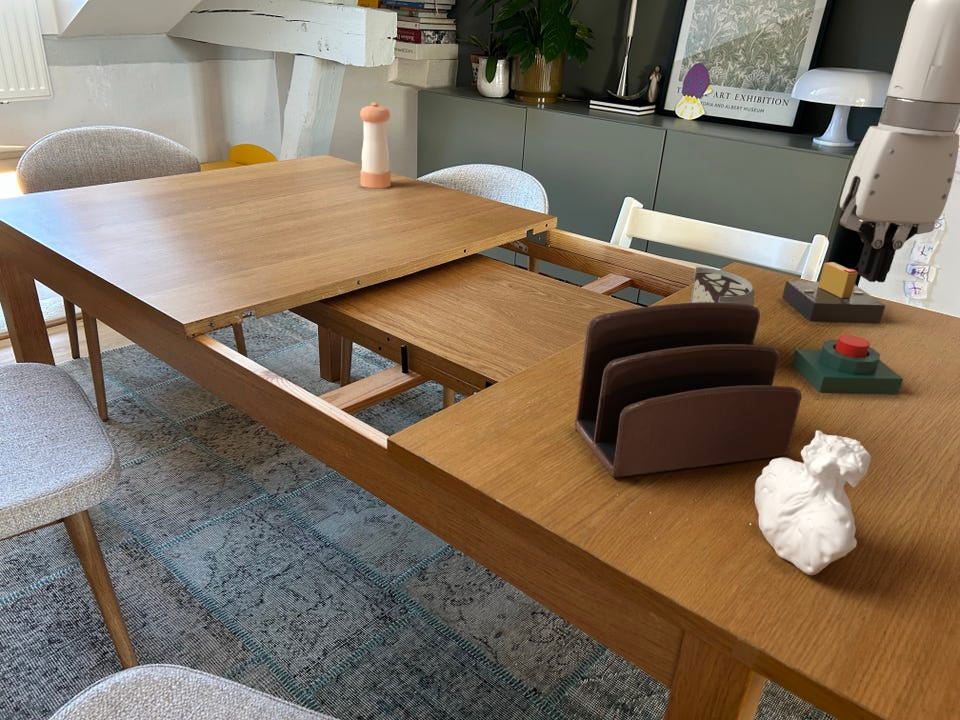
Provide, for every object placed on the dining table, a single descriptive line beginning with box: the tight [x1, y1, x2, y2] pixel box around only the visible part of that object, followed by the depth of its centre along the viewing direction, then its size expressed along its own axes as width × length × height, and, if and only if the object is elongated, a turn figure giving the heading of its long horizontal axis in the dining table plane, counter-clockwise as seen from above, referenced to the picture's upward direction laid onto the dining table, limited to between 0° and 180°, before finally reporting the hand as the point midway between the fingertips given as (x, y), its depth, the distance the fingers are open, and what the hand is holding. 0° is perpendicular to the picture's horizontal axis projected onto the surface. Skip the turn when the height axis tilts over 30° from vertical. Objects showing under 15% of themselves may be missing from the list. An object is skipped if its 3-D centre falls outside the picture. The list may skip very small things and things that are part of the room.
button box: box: [791, 339, 904, 395], centre depth 92 cm, size 10×8×4 cm
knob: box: [818, 261, 859, 298], centre depth 113 cm, size 5×2×4 cm, turn 17°
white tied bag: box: [754, 429, 872, 576], centre depth 61 cm, size 12×8×11 cm
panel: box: [781, 280, 886, 324], centre depth 115 cm, size 11×10×3 cm
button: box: [835, 334, 871, 358], centre depth 91 cm, size 4×4×2 cm
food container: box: [690, 266, 755, 307], centre depth 96 cm, size 12×6×10 cm, turn 179°
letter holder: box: [574, 302, 802, 479], centre depth 74 cm, size 10×20×14 cm, turn 106°
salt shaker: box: [359, 101, 392, 189], centre depth 175 cm, size 7×7×19 cm
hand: (870, 278), depth 87 cm, fingers closed
